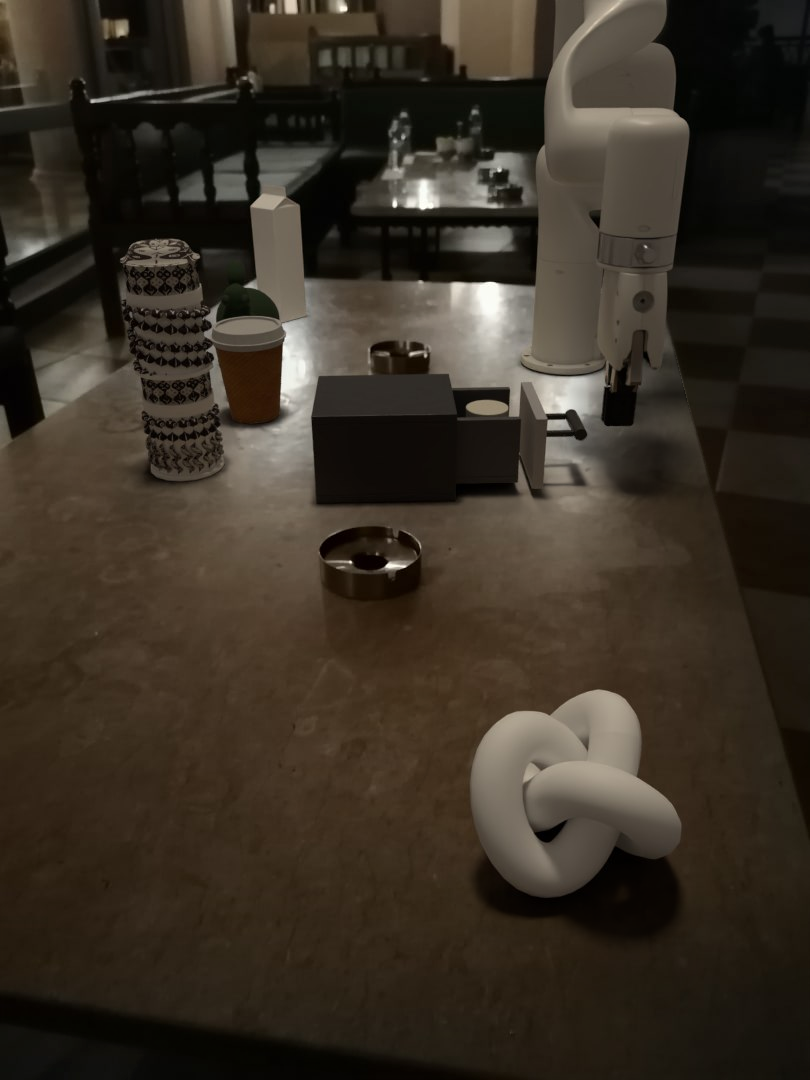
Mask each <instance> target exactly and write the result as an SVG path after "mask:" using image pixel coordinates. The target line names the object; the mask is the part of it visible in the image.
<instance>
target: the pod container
mask: <svg viewBox="0 0 810 1080" xmlns="http://www.w3.org/2000/svg"><path fill="white" fill-rule="evenodd" d="M508 410H509V411H510V407H509V408H508V406H507V405H506V404H504V403H502V402H499V401H494V400H479V401H474V402H471V403H469V404H468V405H467V406H466V417H508Z"/></svg>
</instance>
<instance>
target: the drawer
mask: <svg viewBox="0 0 810 1080" xmlns="http://www.w3.org/2000/svg"><path fill="white" fill-rule="evenodd" d="M452 391H453V396H454V401H455V406H456V411H457V455H456V485H458V484H460V485H463V484H469V485H470V484H513V483H514V484H518V482H519V470H520V469H519V466H520V457H521V461H522V464H523V467H524V470H525V473H526V476H527V479H528V482H529V485H530V488H531V489H533V490H534V489H535V490H537V489H544V478H545V477H544V476H545V465H546V453H547V452H546V451H547V438H574V439H575V440H576V441H579V442H582V441H585V440H586V439H587V437H588V431H587V429H586V427H585V425H584V423H583V421H582V419H581V418H580V416H579V414H578V412H577V411H576V410H575V409H573V408H570V409H567V410H566V411H565V412H562V413H561V412H556V413H555V412H554V413H550V412H549V413H546V412H545V410H544V408H543V405H542V403H541V400H540V399H539V397H538V393H537V391H536V389H535V388H534V385H533V382H532V381H521V382H520V391H519V392H520V393H519V409H518V410H519V411H518V416H510V401H511V388H510V386H486V387H485V386H481V387H480V386H479V387H475V386H474V387H452ZM479 400H494V401H499V402H502V403H504V404H506V405H507V406H508V408H509V410H508V417H466V406H467V405H468V404H469V403H471V402H474V401H479ZM549 421H566V423H567V424H568V427H569V429H552V430H551V429H549V430H548V422H549Z"/></svg>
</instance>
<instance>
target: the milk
mask: <svg viewBox="0 0 810 1080" xmlns="http://www.w3.org/2000/svg"><path fill="white" fill-rule="evenodd" d="M261 188H262V189H261V191H262V194H261V195H260V196H259V197H258V198H256V200H255V201H254V202H253V203H252V204H251V205H250V206H249V209H250V218H251V219H250V220H251V229H252V230H251V232H252V242H253V254H254V265H255V266H254V267H255V275H256V277H255V278H256V287H257V288H256V289H257V290H260V291H262V292H263V293H265V294H266V295H267V296H268V297H270V298H271V300H272V301H273V302H274V303H275V305H276V307H277V309H278V312H279V318H280V321H281V323H282V324H283V323H285V322H290V321H293V320H297V319H300V318H304V317H307V300H306V286H305V285H306V284H305V269H304V253H303V252H304V251H303V238H302V237H303V236H302V222H301V206H300V204H299V203H296V202H295V201H293V200H291V199H290V198H289V197H287V193H286V192H287V191H286V187H285V186H279V185H270V184H261Z"/></svg>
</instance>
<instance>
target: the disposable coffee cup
mask: <svg viewBox="0 0 810 1080" xmlns="http://www.w3.org/2000/svg"><path fill="white" fill-rule="evenodd" d="M211 329H212V330H211V334H210V335H209V339H210V340H211V341H212V342H213V347H214V349H215V353H216V357H217V362H218V366H219V370H220V374H221V377H222V382H223V386H224V390H225V395H226V399H227V403H228V407H229V411H230V415H231V419H232V421H233V420H234V421H235V422H237V423H241V424H251V425H254V424H263V423H268V422H271V421H274V420H275V419H277V418H279V416H280V414H281V395H282V393H281V391H282V376H283V375H282V373H283V354H284V353H283V351H284V343H285V340H286V337H287V331H286V330H285V329H284V327H283V323H281V321H279V320H277V319H275V318H271V317H263V316H242V317H234V318H229V319H225V320H222V321H219V322H217V323H216V322H215V323H214V324H212V328H211Z"/></svg>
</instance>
